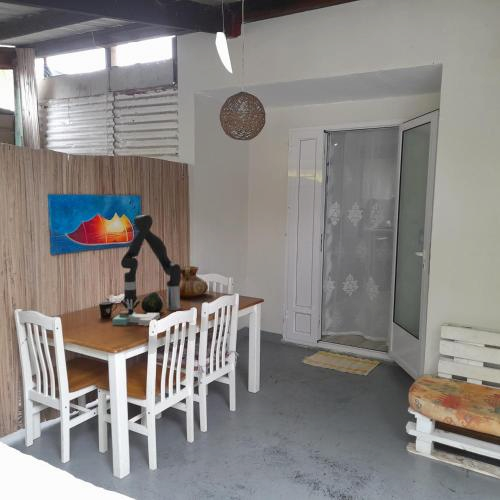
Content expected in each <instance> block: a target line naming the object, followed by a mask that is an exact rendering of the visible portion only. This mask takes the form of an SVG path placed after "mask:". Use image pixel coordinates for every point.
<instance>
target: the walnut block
mask: <svg viewBox="0 0 500 500" xmlns="http://www.w3.org/2000/svg"><path fill="white" fill-rule="evenodd" d="M118 315H119V317H128V316H129V313H128V310H121V311H120V312H119V314H118Z"/></svg>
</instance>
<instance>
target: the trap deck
mask: <svg viewBox="0 0 500 500" xmlns="http://www.w3.org/2000/svg"><path fill="white" fill-rule="evenodd" d="M160 314H161V313H159V312H156V313H155V312H154V313H145V314H144V313H137V312H135V311H133V314H132V315H129V316H128V317H119V314H118V315H116V316H114V318H112V325H113V326H134V325H144V326H143V327H149V326H148V325H149V322H150V321H151V320H153V319H156V320H157V321H159V320H160V319H159V318H161V317H160ZM158 319H159V320H158Z"/></svg>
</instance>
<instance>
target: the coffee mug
mask: <svg viewBox="0 0 500 500" xmlns="http://www.w3.org/2000/svg"><path fill="white" fill-rule="evenodd" d="M113 305H115V308H114V309H113ZM98 306H99V312H100V313H99V314H100V318H101V319H102V320H103V319H111V318H112V314H113V312H114V311H115V310H116V309H117V308H118V304H117V303H116V302H115V303H114V302H113V301H110V300H109V301H100V302H99V303H98Z"/></svg>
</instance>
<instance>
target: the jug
mask: <svg viewBox="0 0 500 500" xmlns="http://www.w3.org/2000/svg"><path fill="white" fill-rule="evenodd" d="M180 268H181V281H180V299H197V298H199V296H200V297H201V296H203V295H204V294H206V292H208V290H209V286H208V284H207V282H206V281H205V280H204V279H202V278H200V277H198V276H197V273H198V270H199V267H198V266H189V265H187V266H180ZM196 297H197V298H196Z"/></svg>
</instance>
